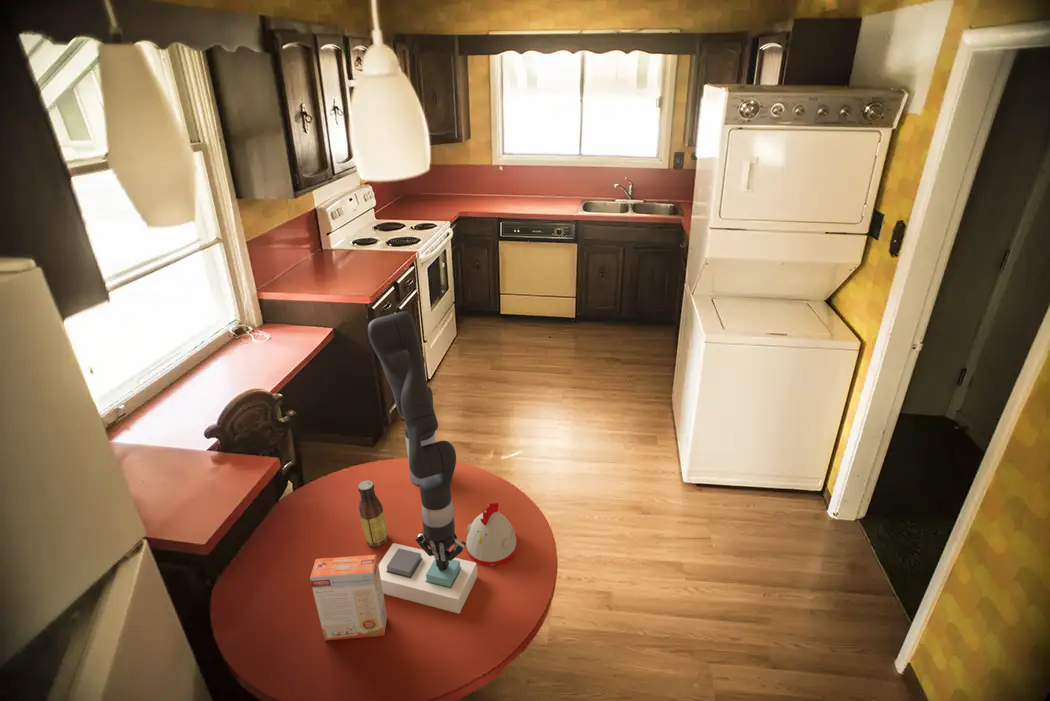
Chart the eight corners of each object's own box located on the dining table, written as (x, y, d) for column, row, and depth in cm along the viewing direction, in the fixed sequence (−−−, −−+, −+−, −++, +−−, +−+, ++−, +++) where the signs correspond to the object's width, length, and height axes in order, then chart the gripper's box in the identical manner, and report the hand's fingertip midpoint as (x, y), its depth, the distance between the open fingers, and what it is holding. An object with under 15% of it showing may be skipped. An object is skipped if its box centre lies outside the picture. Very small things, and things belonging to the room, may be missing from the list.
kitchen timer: (456, 554, 164) (453, 513, 157) (483, 522, 175) (481, 482, 168) (500, 573, 158) (499, 530, 151) (525, 539, 169) (524, 497, 162)
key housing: (395, 556, 163) (393, 542, 161) (477, 576, 157) (476, 562, 155) (372, 590, 153) (370, 576, 151) (459, 613, 147) (458, 599, 144)
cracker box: (387, 615, 146) (377, 553, 137) (384, 637, 141) (373, 573, 131) (329, 619, 146) (315, 556, 136) (324, 641, 140) (308, 577, 131)
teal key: (438, 566, 155) (436, 555, 154) (460, 572, 154) (459, 561, 152) (427, 585, 150) (425, 574, 148) (450, 591, 148) (449, 580, 146)
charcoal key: (400, 559, 159) (398, 548, 157) (422, 564, 157) (420, 553, 155) (388, 577, 153) (386, 566, 151) (411, 583, 152) (409, 572, 150)
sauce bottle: (391, 532, 171) (383, 477, 162) (384, 548, 166) (375, 493, 157) (369, 531, 172) (359, 476, 163) (361, 547, 166) (351, 491, 157)
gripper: (469, 510, 144) (473, 562, 151) (419, 499, 147) (425, 551, 155) (457, 531, 137) (461, 585, 145) (405, 520, 141) (412, 573, 149)
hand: (442, 567), depth 150 cm, fingers closed
